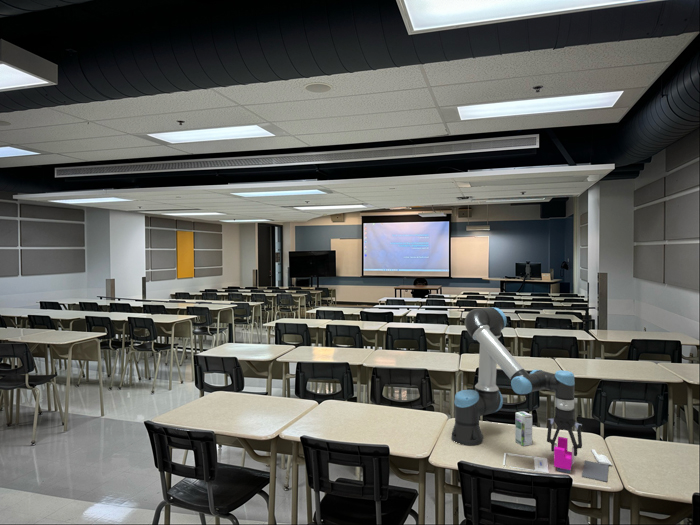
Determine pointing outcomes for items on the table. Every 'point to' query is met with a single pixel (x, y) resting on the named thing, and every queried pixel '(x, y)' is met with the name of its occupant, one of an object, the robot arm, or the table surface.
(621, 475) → the table surface
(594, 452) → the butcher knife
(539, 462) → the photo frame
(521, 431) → the syrup box
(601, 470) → the mat
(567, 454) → the toy block
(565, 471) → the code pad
